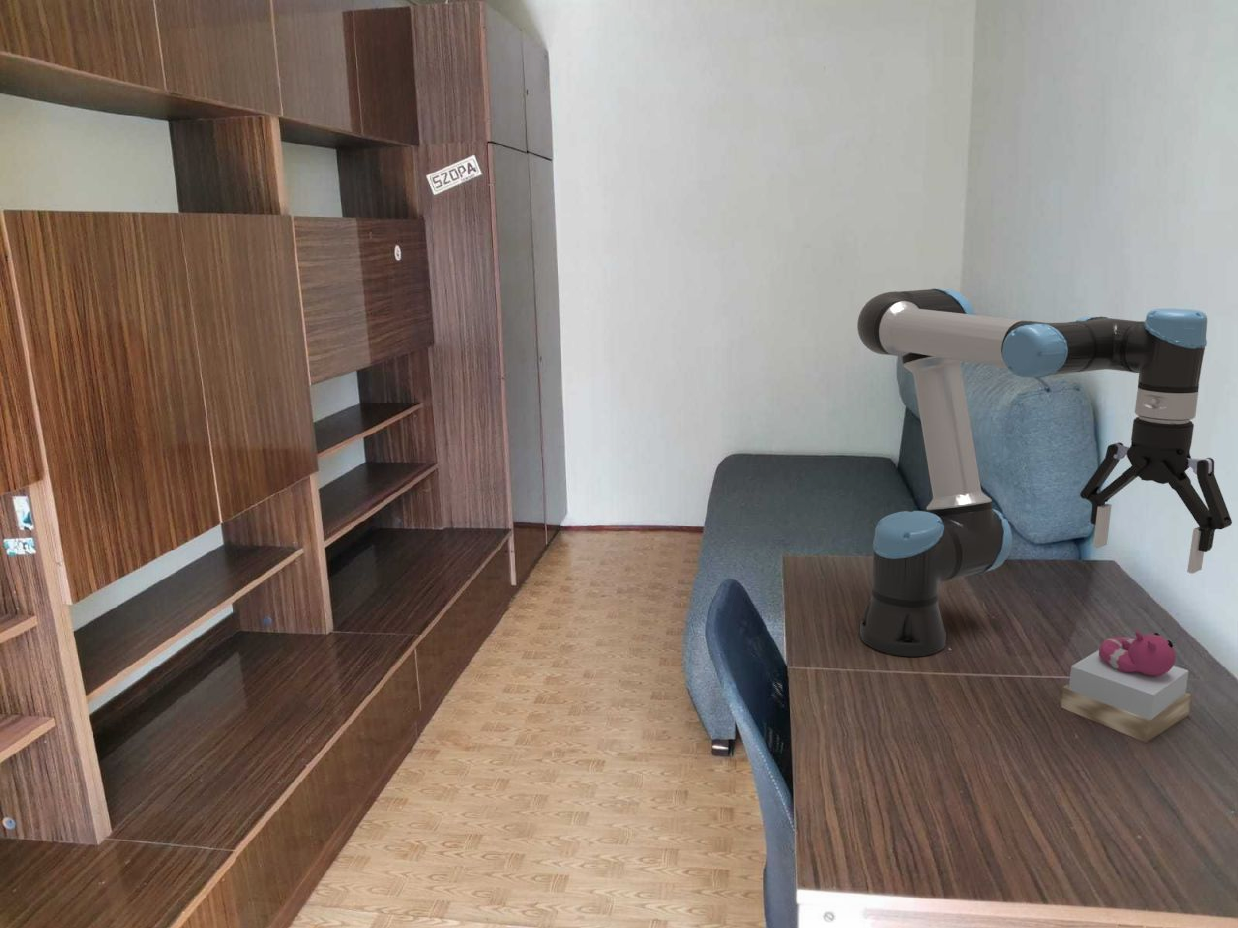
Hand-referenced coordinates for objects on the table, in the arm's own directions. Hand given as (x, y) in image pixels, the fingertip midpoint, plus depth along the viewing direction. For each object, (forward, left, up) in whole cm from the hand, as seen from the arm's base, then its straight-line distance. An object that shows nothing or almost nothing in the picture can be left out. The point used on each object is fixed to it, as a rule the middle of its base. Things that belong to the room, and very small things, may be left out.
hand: (1145, 558), depth 136 cm
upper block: (0, -1, -22) cm, 22 cm away
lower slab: (0, 0, -26) cm, 26 cm away
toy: (0, +1, -18) cm, 18 cm away
